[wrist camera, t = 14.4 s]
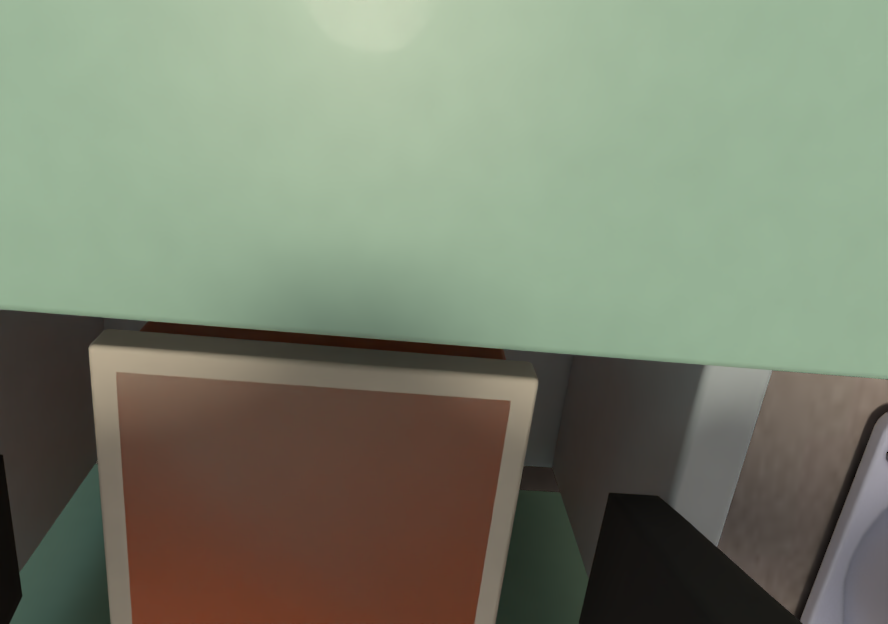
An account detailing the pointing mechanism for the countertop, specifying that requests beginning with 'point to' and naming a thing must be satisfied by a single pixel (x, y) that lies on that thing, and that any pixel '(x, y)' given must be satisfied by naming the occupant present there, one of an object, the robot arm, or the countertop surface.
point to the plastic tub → (305, 476)
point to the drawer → (537, 512)
